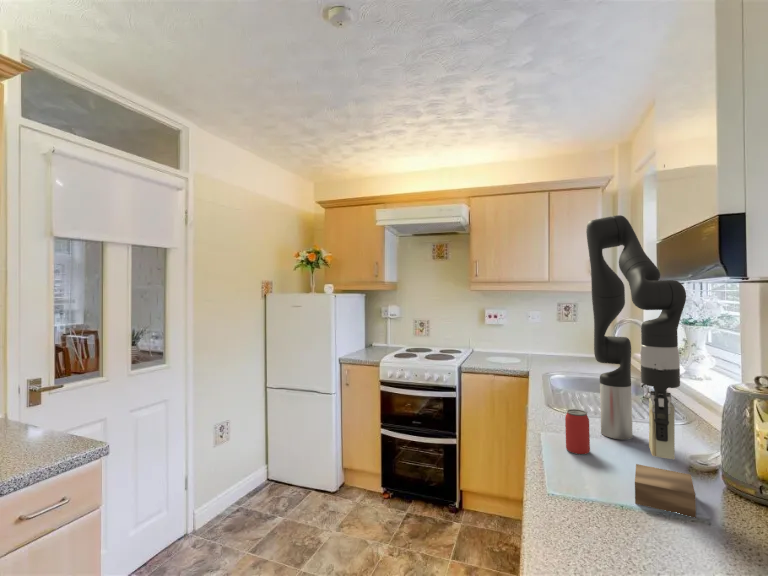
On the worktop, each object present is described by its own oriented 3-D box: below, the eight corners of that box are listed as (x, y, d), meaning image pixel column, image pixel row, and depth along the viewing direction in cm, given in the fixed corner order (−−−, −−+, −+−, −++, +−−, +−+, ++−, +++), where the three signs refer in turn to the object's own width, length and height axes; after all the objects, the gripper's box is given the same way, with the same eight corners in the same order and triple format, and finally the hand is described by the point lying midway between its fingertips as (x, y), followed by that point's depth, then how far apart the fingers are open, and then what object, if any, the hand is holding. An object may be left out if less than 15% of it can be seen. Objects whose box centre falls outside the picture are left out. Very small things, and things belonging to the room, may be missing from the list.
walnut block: (636, 483, 100) (636, 463, 100) (691, 495, 93) (690, 474, 93) (635, 503, 90) (634, 481, 91) (696, 518, 84) (695, 494, 84)
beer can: (570, 445, 125) (569, 407, 125) (593, 450, 120) (592, 411, 120) (562, 451, 120) (561, 412, 120) (585, 457, 116) (584, 416, 116)
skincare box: (648, 447, 96) (647, 397, 96) (671, 450, 94) (669, 399, 94) (652, 456, 90) (651, 404, 91) (676, 460, 88) (674, 406, 88)
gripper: (641, 358, 100) (642, 424, 100) (640, 368, 89) (641, 442, 88) (677, 361, 96) (679, 429, 96) (681, 371, 84) (683, 449, 84)
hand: (661, 435), depth 92 cm, fingers closed on skincare box, 6 cm apart
